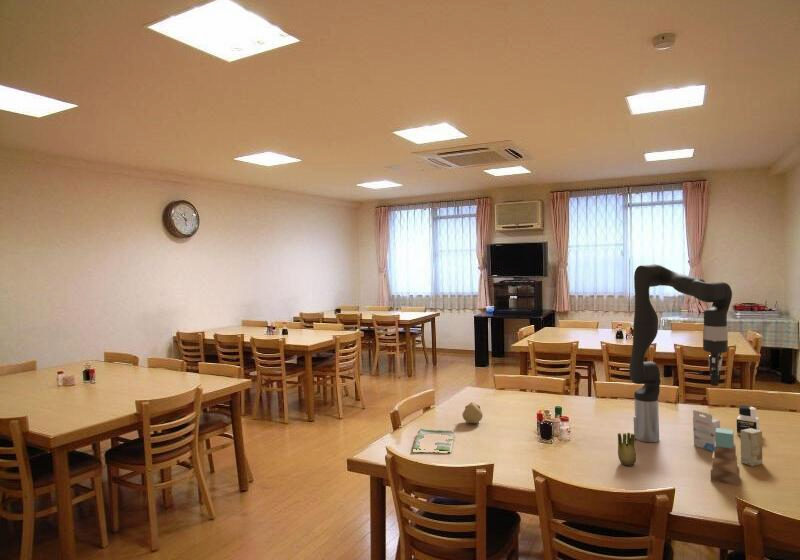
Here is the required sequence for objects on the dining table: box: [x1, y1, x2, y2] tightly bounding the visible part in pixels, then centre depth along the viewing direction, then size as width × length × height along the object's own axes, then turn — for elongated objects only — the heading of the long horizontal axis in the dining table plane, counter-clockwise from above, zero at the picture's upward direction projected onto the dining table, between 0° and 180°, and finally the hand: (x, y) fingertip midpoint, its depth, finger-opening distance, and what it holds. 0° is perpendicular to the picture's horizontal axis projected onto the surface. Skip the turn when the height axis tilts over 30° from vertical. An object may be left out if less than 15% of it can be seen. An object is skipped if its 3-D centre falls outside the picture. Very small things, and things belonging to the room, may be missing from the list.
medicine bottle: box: [736, 405, 760, 436], centre depth 216 cm, size 7×7×12 cm
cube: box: [715, 427, 735, 449], centre depth 173 cm, size 5×5×5 cm
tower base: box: [710, 465, 741, 487], centre depth 174 cm, size 8×8×4 cm
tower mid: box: [711, 451, 738, 473], centre depth 174 cm, size 7×7×4 cm
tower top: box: [714, 441, 737, 461], centre depth 174 cm, size 6×6×4 cm
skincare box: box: [740, 428, 763, 467], centre depth 186 cm, size 6×4×12 cm
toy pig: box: [462, 402, 484, 424], centre depth 246 cm, size 10×12×11 cm
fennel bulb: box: [617, 432, 637, 467], centre depth 189 cm, size 6×5×12 cm
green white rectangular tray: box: [412, 428, 455, 451], centre depth 219 cm, size 17×23×4 cm
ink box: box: [692, 409, 721, 452], centre depth 203 cm, size 9×5×15 cm, turn 23°
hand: (715, 382), depth 180 cm, fingers open, 8 cm apart
